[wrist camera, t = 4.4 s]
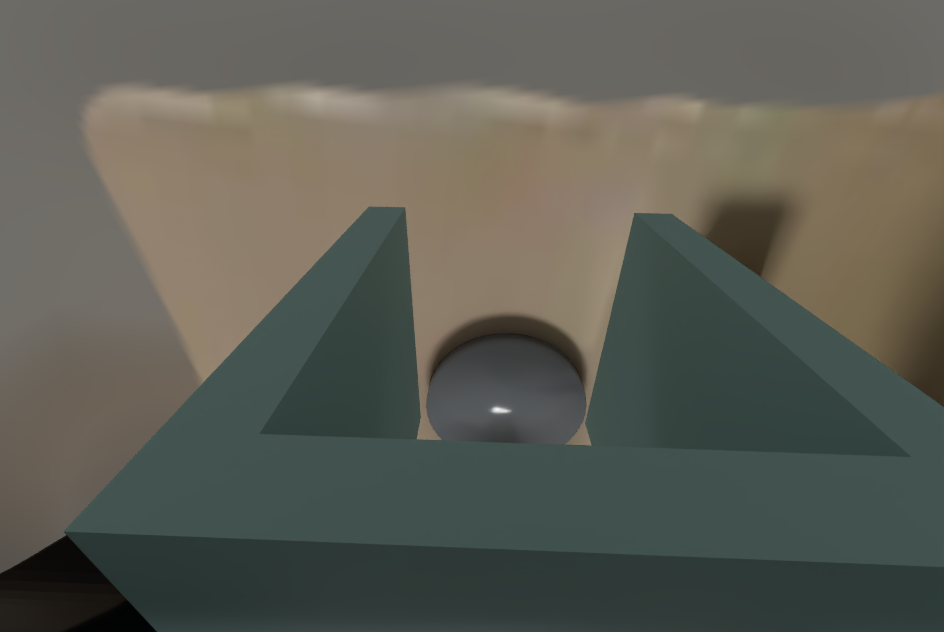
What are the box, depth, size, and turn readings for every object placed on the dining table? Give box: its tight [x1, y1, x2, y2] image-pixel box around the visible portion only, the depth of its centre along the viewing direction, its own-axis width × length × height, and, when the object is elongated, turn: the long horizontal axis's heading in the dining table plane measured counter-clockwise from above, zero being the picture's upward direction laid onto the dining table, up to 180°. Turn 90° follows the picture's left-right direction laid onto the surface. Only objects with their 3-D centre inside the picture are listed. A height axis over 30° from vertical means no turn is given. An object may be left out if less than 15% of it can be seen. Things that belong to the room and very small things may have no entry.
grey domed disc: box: [426, 334, 586, 445], centre depth 25 cm, size 10×10×1 cm
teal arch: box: [64, 207, 944, 632], centre depth 7 cm, size 7×6×7 cm
